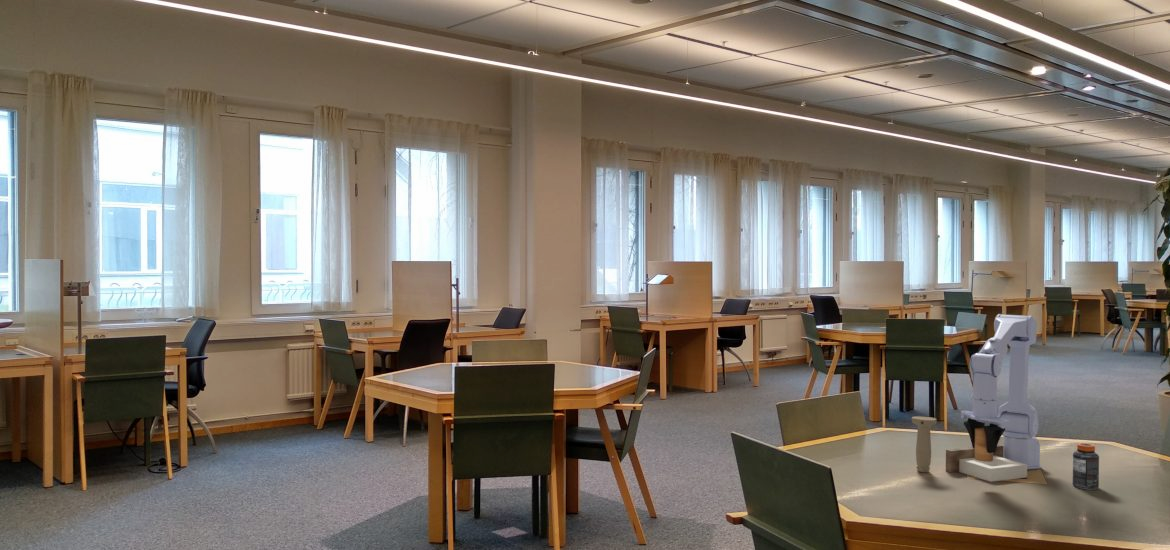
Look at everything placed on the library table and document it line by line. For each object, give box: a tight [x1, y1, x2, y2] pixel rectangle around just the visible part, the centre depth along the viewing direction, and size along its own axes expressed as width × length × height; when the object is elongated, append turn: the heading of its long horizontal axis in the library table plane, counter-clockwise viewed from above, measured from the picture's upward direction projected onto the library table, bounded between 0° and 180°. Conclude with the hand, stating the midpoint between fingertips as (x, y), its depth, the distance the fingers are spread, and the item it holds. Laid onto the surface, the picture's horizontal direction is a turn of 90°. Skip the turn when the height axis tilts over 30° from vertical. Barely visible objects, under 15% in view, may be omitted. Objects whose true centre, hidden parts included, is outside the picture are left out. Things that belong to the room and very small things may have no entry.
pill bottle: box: [1072, 442, 1100, 491], centre depth 224 cm, size 6×6×11 cm
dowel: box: [975, 428, 993, 462], centre depth 225 cm, size 4×4×8 cm
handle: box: [911, 415, 937, 474], centre depth 240 cm, size 5×6×15 cm
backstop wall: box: [945, 444, 1003, 473], centre depth 243 cm, size 19×2×6 cm, turn 110°
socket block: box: [959, 456, 1028, 483], centre depth 237 cm, size 13×11×4 cm
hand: (983, 450), depth 225 cm, fingers closed on dowel, 4 cm apart
